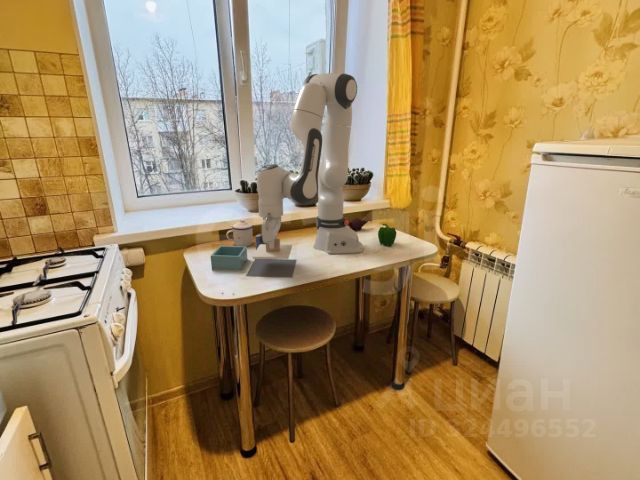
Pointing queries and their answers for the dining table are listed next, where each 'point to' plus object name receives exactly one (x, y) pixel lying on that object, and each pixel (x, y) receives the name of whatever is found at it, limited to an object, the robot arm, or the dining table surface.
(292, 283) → the dining table surface
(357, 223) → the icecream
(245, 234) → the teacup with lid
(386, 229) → the bell pepper
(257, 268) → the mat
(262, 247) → the cream square piece
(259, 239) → the flask
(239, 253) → the teal open box
